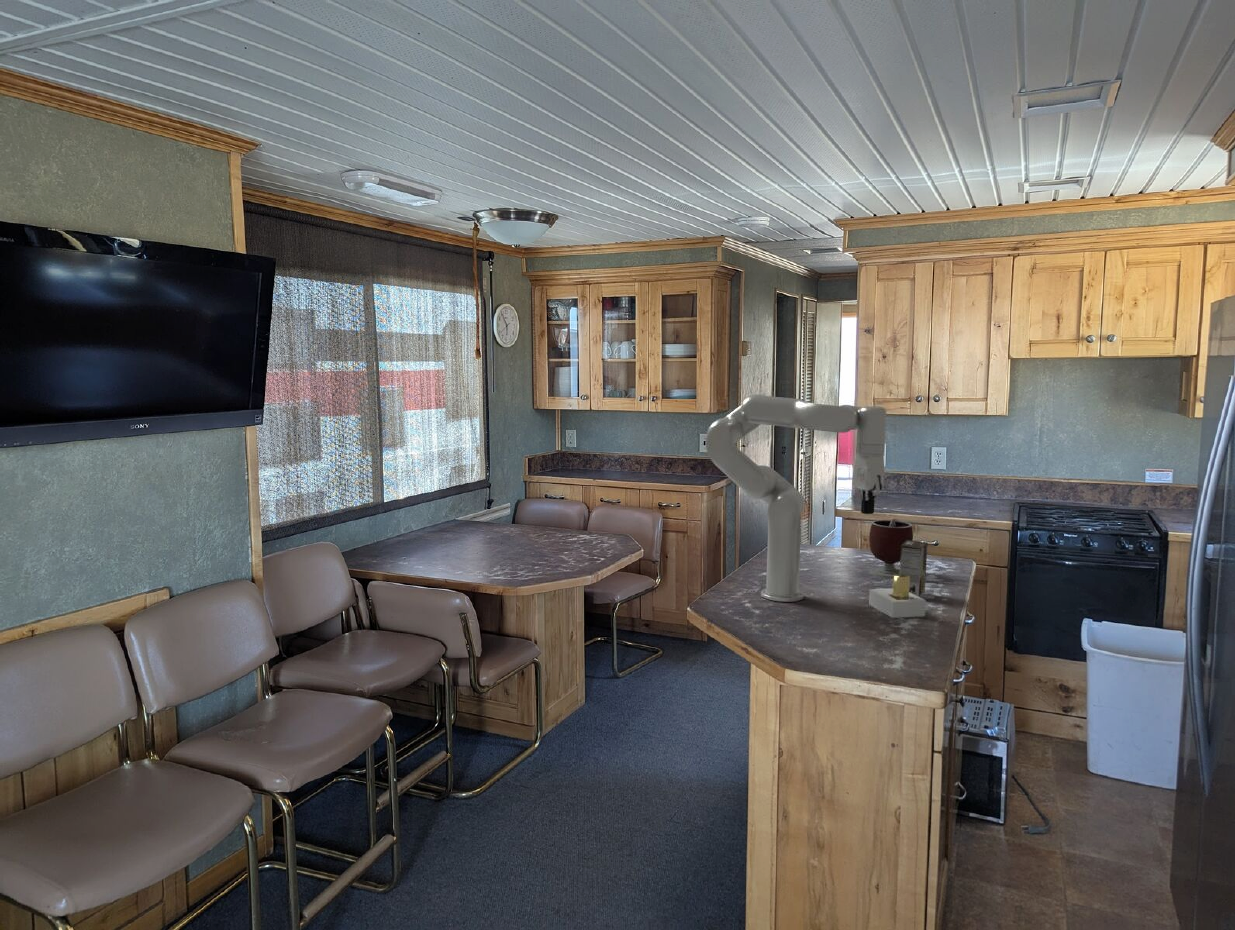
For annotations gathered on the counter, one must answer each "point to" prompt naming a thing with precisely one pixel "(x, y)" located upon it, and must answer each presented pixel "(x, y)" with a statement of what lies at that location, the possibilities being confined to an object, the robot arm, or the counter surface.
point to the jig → (896, 604)
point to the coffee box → (914, 565)
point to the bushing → (901, 586)
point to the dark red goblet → (888, 544)
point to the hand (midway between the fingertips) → (867, 513)
